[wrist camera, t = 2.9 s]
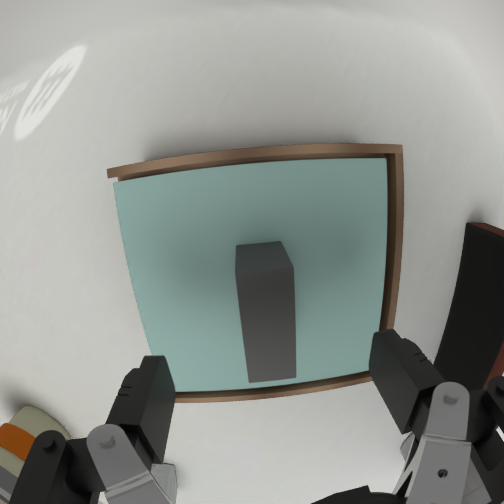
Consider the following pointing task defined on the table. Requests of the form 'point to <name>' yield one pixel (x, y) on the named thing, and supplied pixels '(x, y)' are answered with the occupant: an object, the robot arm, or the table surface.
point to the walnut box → (285, 154)
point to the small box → (166, 479)
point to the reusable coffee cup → (21, 444)
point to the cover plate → (206, 265)
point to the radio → (476, 312)
